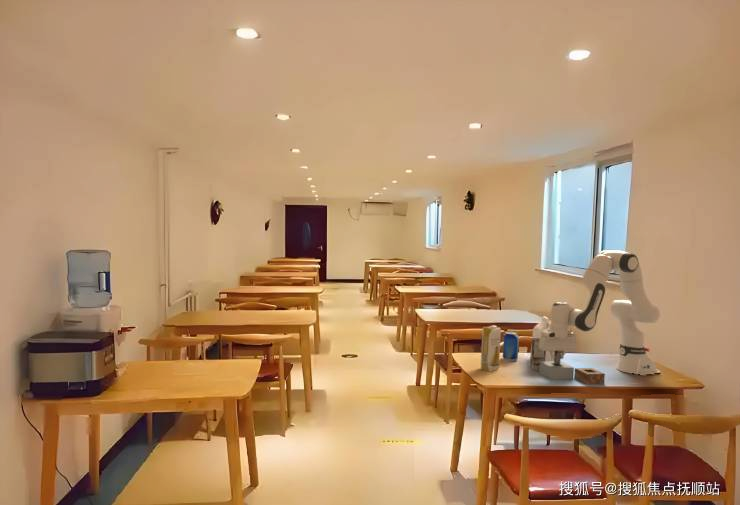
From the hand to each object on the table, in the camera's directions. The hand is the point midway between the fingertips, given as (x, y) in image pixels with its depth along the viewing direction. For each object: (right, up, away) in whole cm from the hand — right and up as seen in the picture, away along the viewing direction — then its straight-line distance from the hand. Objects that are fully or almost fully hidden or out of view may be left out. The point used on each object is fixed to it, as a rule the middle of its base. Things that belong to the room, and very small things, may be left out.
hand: (557, 358), depth 247 cm
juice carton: (-34, -8, +8) cm, 35 cm away
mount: (+14, -10, -6) cm, 18 cm away
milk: (+3, -8, +29) cm, 30 cm away
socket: (0, -9, 0) cm, 9 cm away
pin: (0, -8, 0) cm, 8 cm away
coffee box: (-6, -9, +13) cm, 16 cm away
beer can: (-16, -7, +29) cm, 34 cm away
